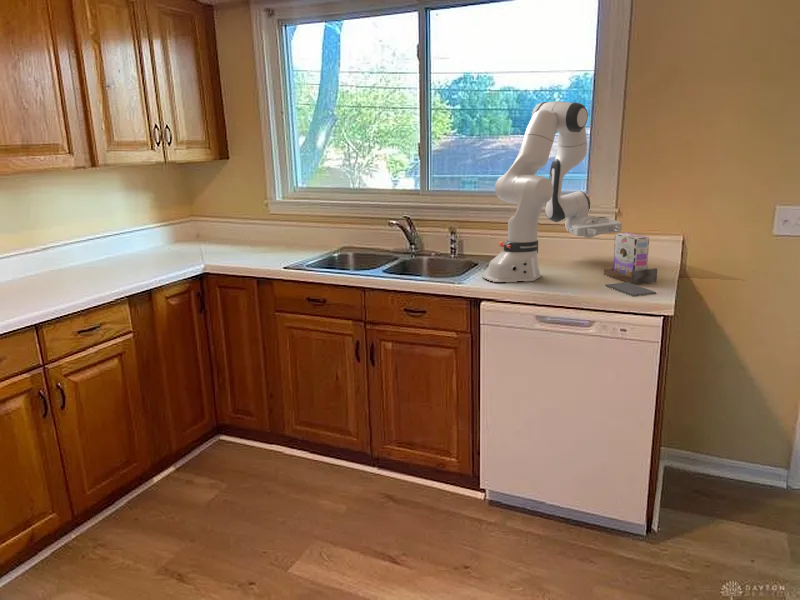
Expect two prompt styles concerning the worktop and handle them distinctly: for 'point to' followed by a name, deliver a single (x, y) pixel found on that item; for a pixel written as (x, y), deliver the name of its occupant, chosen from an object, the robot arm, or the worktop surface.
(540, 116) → the robot arm
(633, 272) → the holder
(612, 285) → the mat
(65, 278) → the worktop surface
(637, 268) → the candy box
